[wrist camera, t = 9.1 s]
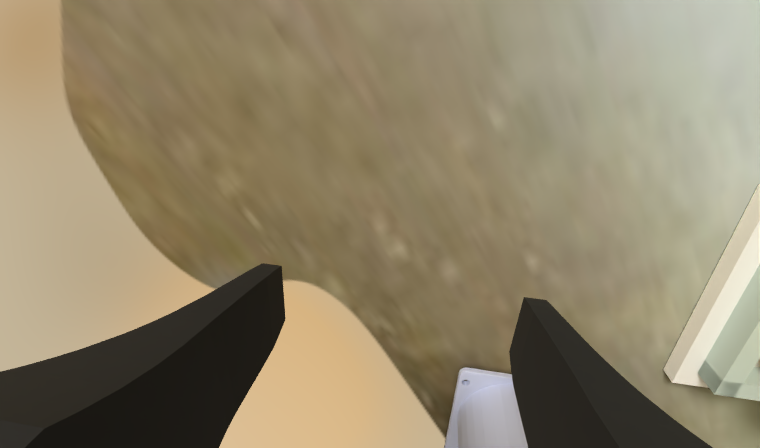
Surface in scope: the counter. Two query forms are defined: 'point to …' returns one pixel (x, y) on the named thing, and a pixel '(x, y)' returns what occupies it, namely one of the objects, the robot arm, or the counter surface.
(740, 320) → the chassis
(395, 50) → the counter surface
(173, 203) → the counter surface
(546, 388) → the robot arm
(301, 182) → the counter surface
